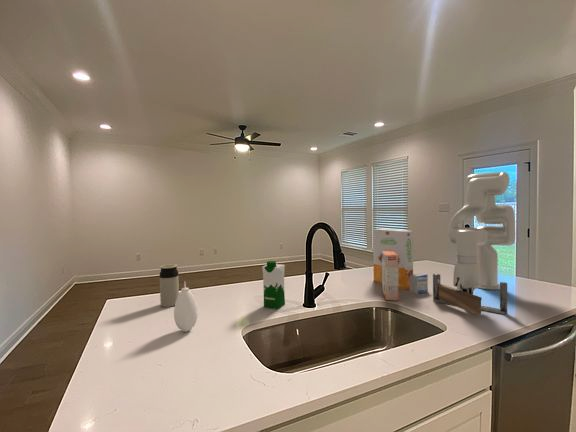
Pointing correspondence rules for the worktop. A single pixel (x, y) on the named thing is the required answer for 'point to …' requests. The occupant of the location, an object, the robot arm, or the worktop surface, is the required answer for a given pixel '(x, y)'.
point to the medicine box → (419, 283)
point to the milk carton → (273, 284)
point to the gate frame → (495, 310)
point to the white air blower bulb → (185, 310)
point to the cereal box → (401, 246)
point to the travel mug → (169, 285)
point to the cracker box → (390, 275)
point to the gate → (460, 299)
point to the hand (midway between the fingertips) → (467, 303)
